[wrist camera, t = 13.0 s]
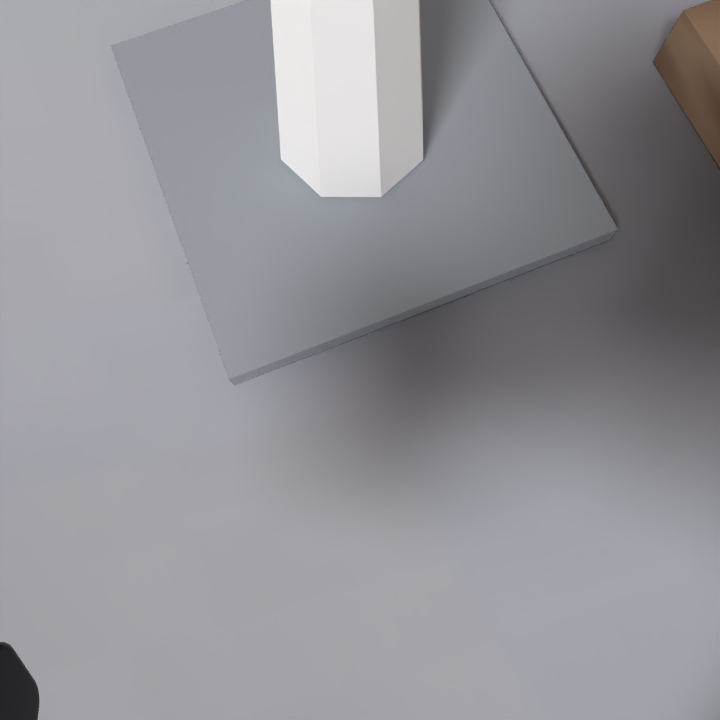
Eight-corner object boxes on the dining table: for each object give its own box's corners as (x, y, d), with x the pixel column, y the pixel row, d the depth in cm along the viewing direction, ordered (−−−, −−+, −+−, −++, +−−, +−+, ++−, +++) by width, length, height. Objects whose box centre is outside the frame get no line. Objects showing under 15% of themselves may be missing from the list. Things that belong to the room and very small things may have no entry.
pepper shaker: (256, 101, 24) (163, -255, 13) (393, 53, 24) (411, -328, 14) (307, 225, 22) (249, -60, 12) (452, 173, 23) (523, -148, 12)
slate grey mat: (609, 239, 23) (617, 229, 22) (234, 385, 22) (229, 379, 21) (448, -50, 26) (450, -68, 26) (118, 60, 25) (110, 45, 24)
